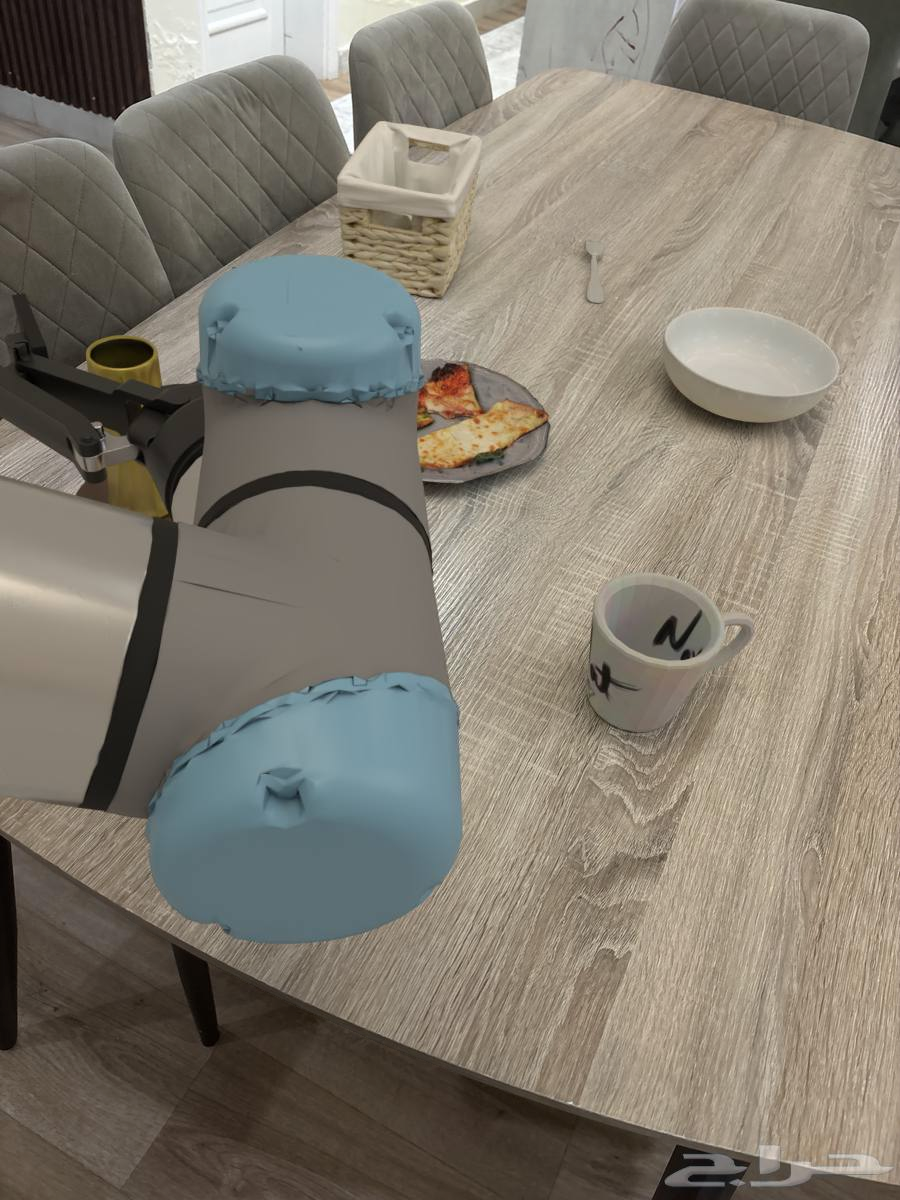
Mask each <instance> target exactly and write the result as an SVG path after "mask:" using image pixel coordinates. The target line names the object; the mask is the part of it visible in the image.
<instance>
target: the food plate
mask: <svg viewBox="0 0 900 1200" xmlns="http://www.w3.org/2000/svg"><path fill="white" fill-rule="evenodd" d="M420 367H421V369H422V371H423V373H424V385H423V387H422V388H421V389H419V397H418V406H417V444H418V452H419V460H420V467H421V473H422V480H423V482H429V483H431V482H432V483H442V484H443V483H444V484H448V483H449V484H464V483H465V482H467V481H472V480H476V479H479V478H481V477H486V476H492V474H495V475H496V473H500V472H504V471H505V470H507V469H511V468H515V467H517V466H519V465H524V464H526V463H529V462H533V460H535V459H538V458H539V457H541V456H542V454H543V453H544V452H545V450H546V448H548V446H547V445H548V440H549V435H550V431H551V428H552V425H551V424H550V421H549V417H550V414H549V413H548V412H547V411H546V410H545V408H544V406H543V405H542V404H541V403H540V402H539V399H537V397H534V395H533V394H532V393H531V392H530V390H528V389H527V387H525V385H522V384H521V383H519V382H518V381H516V380H514V379H513V378H511V377H509V376H507V375H505V374H504V373H501V372H497V371H495V370H492V369H490V368H487V367H484V366H481V365H479V364H476V363H472V362H469V361H464V360H463V361H461V360H448V359H447V360H445V359H444V358H434V359H425V358H424V359H423V358H420Z"/></svg>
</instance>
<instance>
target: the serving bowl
mask: <svg viewBox="0 0 900 1200" xmlns="http://www.w3.org/2000/svg"><path fill="white" fill-rule="evenodd" d="M662 338H663V339H662V359H663V364H664V368H665V371H666V373H667V376H668V377H669V379H670V380H671V382H672V383H673V385H674V386H675V387H676V389H677V390H678V391H679V392H680V393H681V394H682V395H683V396H684V397H686V398H687V399H688V400H689V401H690V402H692V403H693V404H695V405H697V406H698V407H700V408H701V409H703V410H706V411H707V412H710V413H712V414H715V415H717V416H721V417H723V418H727V419H730V420H735V421H739V422H745V423H776V422H782V421H785V420H789V419H793V418H796V417H799V416H801V415H802V414H805V413H807V412H808V411H810V410H812V409H813V408H814V407H816V406H817V405H818V404H819V403H820V402H822V400H823V399H824V398H825V397H826V396H827V395H828V393H829V392H830V391H831V389H832V387H833V386H834V384H835V383H836V381H837V380H838V378H839V375H840V362H839V360H838V357H837V355H836V354H835V353H834V351H833V349H831V347H830V346H829V345H828V344H827V343H826V342H825V341H824V340H823V339H822V338H820V337H819V336H818V335H817V334H815V333H813V332H812V331H811V330H808V329H807V328H806V327H803V326H801V325H799V324H798V323H795V322H793V321H792V320H791V321H790V320H788V319H785V318H783V317H781V316H777V315H774V314H771V313H767V312H763V311H759V310H756V309H755V310H754V309H749V308H742V307H732V306H709V307H700V308H695V309H691V310H688V311H685V312H683V313H681V314H678V315H677V316H675V317H674V318H673V319H671V320H670V321H669V322H668V323H667V325H666V327H665V329H664V332H663V336H662Z"/></svg>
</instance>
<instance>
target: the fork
mask: <svg viewBox="0 0 900 1200" xmlns="http://www.w3.org/2000/svg"><path fill="white" fill-rule="evenodd" d="M590 240H591V241H590ZM598 241H599V242H598ZM585 250H586V252H587V253H589V252H590V253H598V254H600V255H602V254H603V253H604V251H605V243H604V242H603V241H601V240H595V242H594V239H587V240H586V239H585ZM586 299H587V301H589V302H590V303H592V304H601V303H603V302H604V300H605V291H604V289H603V285H602V283H601V278H600V276H599V270H598V259H597V260H596V259H591V258H590V276H589V281H588V284H587V289H586Z"/></svg>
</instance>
